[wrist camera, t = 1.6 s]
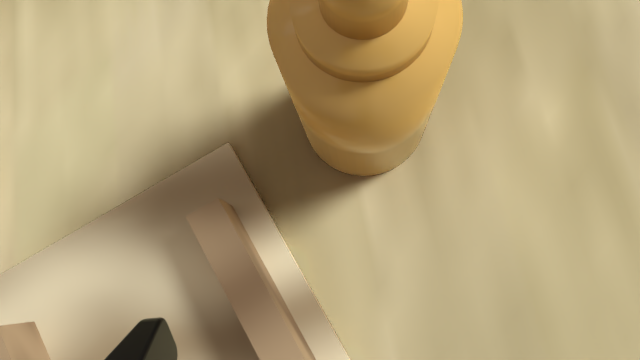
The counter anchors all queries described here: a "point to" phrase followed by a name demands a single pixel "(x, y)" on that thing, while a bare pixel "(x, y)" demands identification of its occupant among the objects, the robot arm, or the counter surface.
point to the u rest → (170, 278)
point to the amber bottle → (364, 73)
